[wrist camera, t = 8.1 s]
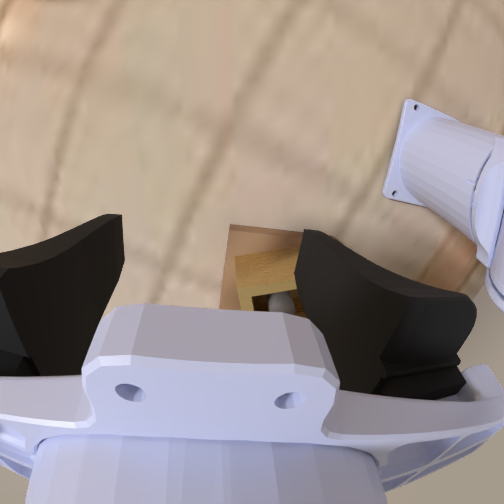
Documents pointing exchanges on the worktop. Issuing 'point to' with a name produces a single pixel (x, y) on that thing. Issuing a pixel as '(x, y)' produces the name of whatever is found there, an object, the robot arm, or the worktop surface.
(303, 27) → the worktop surface
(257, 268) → the collar
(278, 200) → the worktop surface
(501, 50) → the worktop surface
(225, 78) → the worktop surface
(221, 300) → the shaft block
